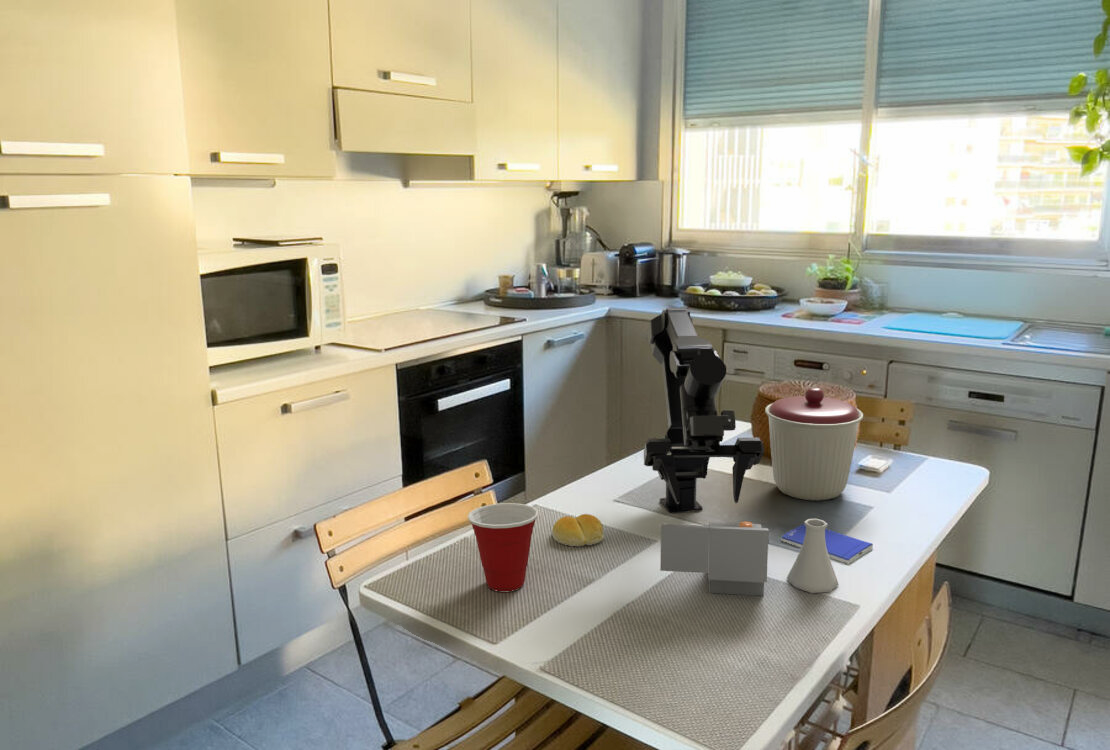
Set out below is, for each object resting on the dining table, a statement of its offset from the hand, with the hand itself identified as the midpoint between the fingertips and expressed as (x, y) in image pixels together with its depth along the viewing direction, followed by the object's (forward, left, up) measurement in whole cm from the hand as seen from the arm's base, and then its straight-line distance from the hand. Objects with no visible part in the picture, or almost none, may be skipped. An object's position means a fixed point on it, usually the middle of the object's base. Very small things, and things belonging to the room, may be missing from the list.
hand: (707, 502), depth 133 cm
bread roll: (-16, -17, -12) cm, 26 cm away
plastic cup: (-2, -32, -11) cm, 34 cm away
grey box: (+6, +3, -11) cm, 13 cm away
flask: (+9, +14, -11) cm, 20 cm away
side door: (+9, -3, -8) cm, 13 cm away
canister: (-26, +32, -11) cm, 43 cm away
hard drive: (-3, +23, -12) cm, 26 cm away
